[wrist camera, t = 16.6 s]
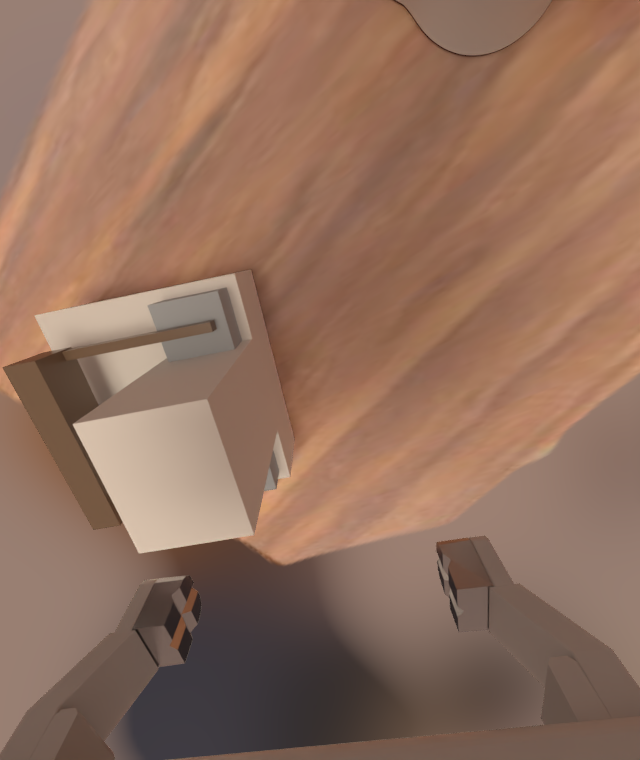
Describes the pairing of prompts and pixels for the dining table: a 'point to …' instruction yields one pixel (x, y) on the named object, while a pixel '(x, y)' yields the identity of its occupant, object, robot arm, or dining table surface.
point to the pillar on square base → (182, 410)
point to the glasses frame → (77, 410)
